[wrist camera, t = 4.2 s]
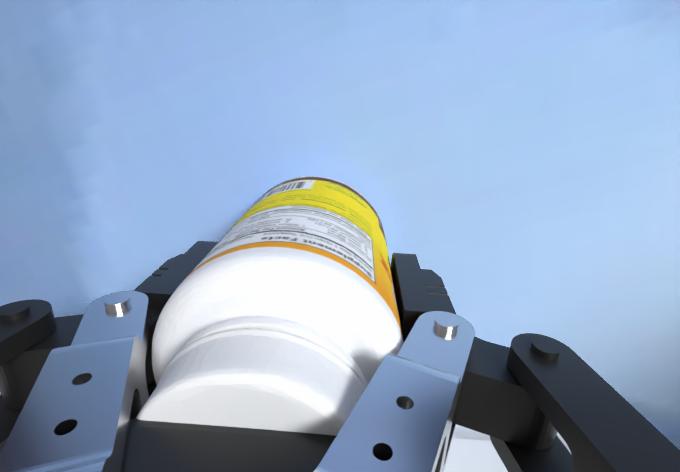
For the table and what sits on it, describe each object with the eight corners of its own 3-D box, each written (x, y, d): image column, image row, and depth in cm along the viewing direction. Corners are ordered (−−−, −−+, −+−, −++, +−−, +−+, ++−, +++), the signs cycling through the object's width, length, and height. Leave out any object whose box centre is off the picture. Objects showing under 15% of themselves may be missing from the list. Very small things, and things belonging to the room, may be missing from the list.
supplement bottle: (347, 319, 17) (327, 619, 7) (229, 265, 16) (41, 518, 7) (412, 211, 15) (499, 428, 5) (281, 145, 14) (121, 260, 5)
